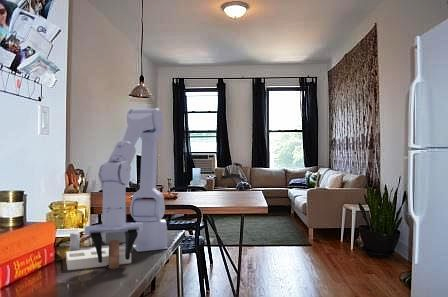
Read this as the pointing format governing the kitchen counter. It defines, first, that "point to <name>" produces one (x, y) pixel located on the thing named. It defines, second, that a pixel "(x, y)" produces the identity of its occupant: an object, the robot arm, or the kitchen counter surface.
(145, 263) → the kitchen counter surface
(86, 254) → the peg board
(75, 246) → the studded grey block
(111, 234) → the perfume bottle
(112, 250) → the terracotta pin
